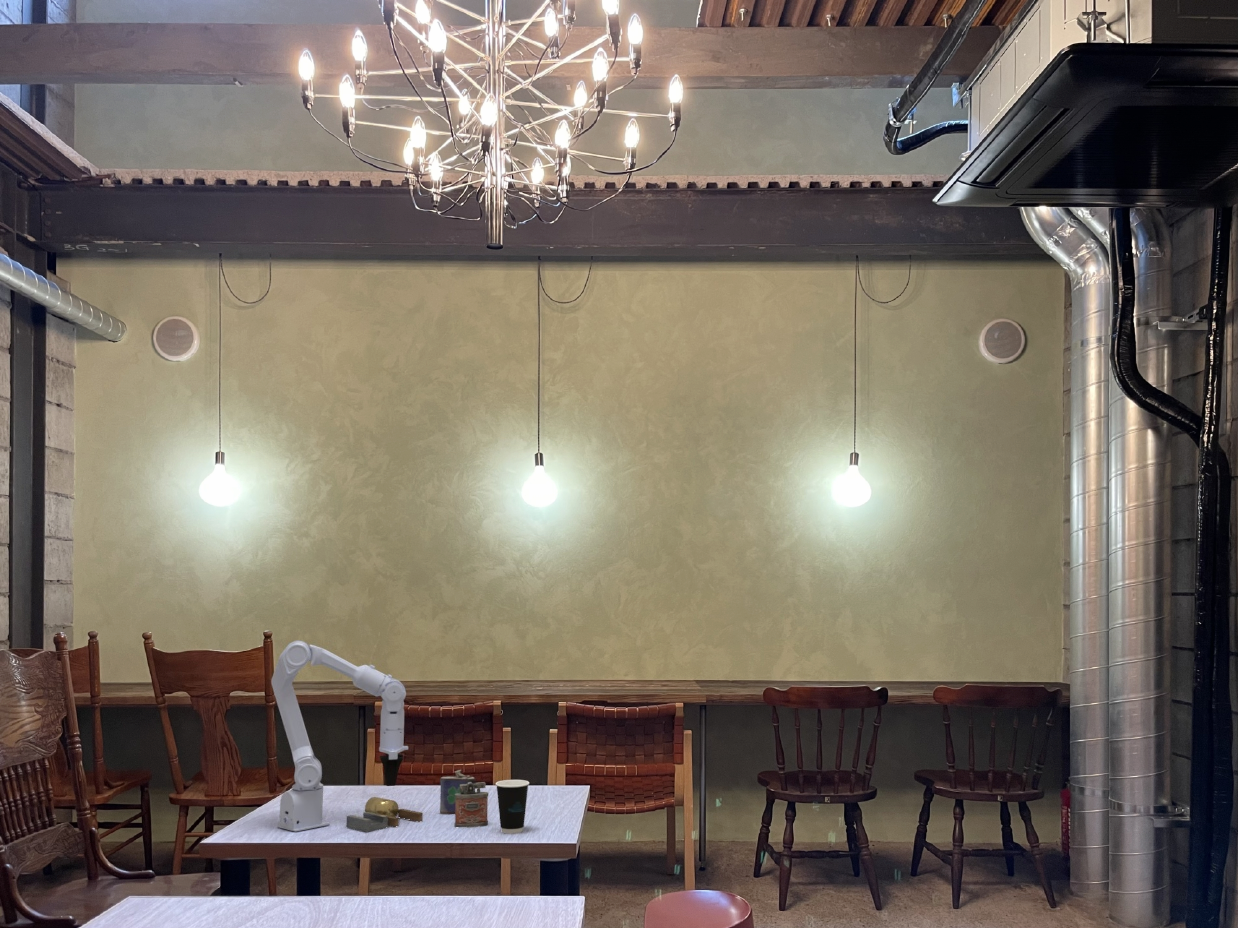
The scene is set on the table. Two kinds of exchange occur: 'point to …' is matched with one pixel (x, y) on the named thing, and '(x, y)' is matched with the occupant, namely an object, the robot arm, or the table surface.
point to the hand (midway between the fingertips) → (390, 785)
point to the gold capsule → (382, 806)
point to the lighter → (471, 806)
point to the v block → (367, 822)
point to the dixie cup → (512, 804)
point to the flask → (452, 791)
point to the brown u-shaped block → (404, 814)
